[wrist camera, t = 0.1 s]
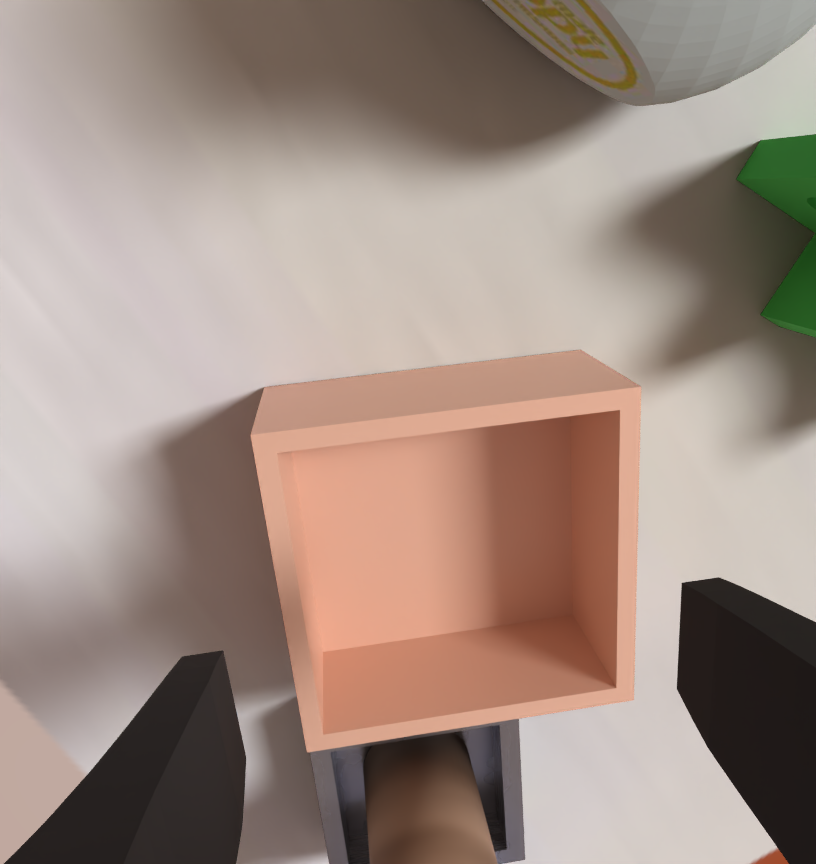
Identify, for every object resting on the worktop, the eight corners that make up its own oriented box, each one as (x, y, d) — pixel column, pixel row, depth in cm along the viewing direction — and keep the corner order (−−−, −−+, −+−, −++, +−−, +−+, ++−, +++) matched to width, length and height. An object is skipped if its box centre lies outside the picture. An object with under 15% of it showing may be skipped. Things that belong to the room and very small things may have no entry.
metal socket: (509, 807, 25) (524, 859, 23) (333, 837, 25) (334, 893, 23) (501, 662, 23) (518, 705, 21) (308, 691, 23) (307, 739, 21)
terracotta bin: (582, 616, 23) (633, 699, 19) (309, 657, 22) (306, 752, 18) (581, 349, 20) (641, 386, 16) (264, 387, 19) (250, 435, 15)
